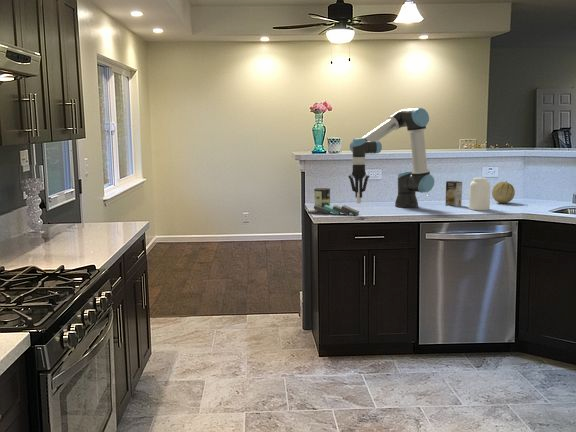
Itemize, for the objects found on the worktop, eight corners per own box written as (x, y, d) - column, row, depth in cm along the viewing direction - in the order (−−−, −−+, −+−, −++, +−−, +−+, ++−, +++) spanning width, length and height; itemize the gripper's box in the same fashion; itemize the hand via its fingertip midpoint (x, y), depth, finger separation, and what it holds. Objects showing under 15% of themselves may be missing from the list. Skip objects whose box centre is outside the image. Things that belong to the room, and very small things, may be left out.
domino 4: (359, 211, 374) (344, 205, 377) (356, 212, 369) (342, 206, 373) (358, 214, 374) (343, 208, 378) (355, 215, 370) (341, 209, 373)
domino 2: (331, 210, 381) (316, 204, 383) (329, 211, 376) (314, 205, 379) (330, 213, 381) (315, 207, 384) (328, 214, 377) (313, 208, 379)
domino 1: (325, 210, 383) (310, 210, 387) (322, 211, 379) (307, 211, 383) (325, 213, 383) (310, 213, 387) (322, 215, 379) (307, 214, 383)
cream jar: (472, 207, 397) (473, 176, 394) (492, 208, 390) (493, 177, 387) (466, 209, 387) (467, 178, 384) (485, 211, 380) (486, 179, 377)
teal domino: (341, 210, 379) (326, 204, 382) (338, 211, 374) (324, 205, 377) (340, 213, 379) (325, 207, 382) (337, 214, 375) (323, 208, 378)
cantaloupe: (488, 203, 415) (489, 181, 413) (495, 201, 427) (495, 179, 425) (511, 204, 407) (512, 182, 405) (517, 202, 419) (517, 180, 417)
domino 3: (350, 211, 376) (336, 205, 380) (348, 212, 372) (333, 206, 375) (349, 214, 377) (335, 208, 380) (347, 215, 372) (332, 209, 376)
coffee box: (444, 205, 412) (445, 181, 410) (451, 204, 416) (451, 180, 413) (455, 206, 405) (456, 182, 402) (462, 205, 408) (462, 181, 406)
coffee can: (331, 209, 399) (331, 188, 397) (329, 211, 389) (329, 189, 387) (315, 209, 401) (315, 188, 399) (313, 211, 391) (313, 189, 389)
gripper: (371, 163, 367) (371, 202, 371) (350, 163, 373) (350, 201, 377) (367, 164, 361) (367, 204, 364) (346, 164, 366) (346, 203, 370)
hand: (358, 203), depth 370 cm, fingers closed
